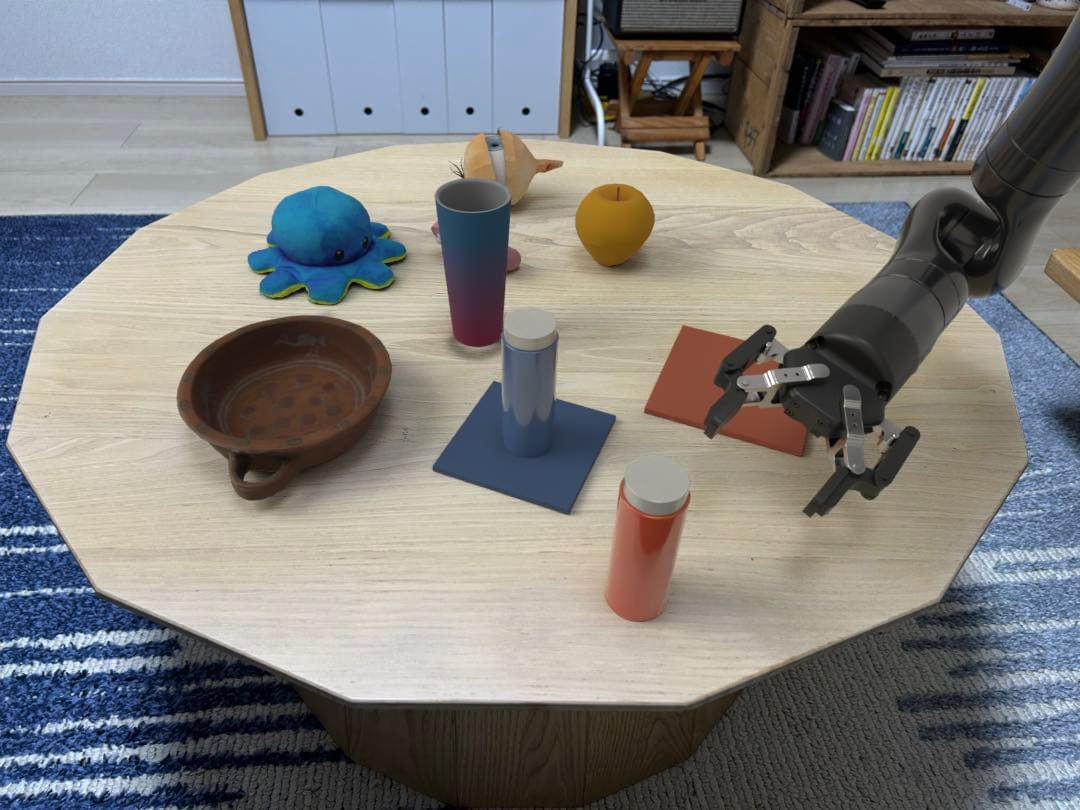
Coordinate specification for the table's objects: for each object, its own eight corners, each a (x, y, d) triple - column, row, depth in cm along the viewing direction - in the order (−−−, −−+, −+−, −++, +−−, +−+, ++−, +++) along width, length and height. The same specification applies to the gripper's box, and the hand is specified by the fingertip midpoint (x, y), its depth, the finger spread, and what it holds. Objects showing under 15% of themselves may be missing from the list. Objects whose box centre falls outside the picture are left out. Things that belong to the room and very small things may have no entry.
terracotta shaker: (673, 581, 56) (701, 464, 48) (657, 630, 53) (683, 514, 44) (615, 561, 57) (633, 444, 49) (596, 608, 54) (611, 491, 46)
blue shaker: (561, 430, 66) (568, 313, 58) (542, 463, 63) (546, 345, 55) (514, 416, 68) (515, 300, 60) (493, 448, 64) (491, 331, 56)
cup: (457, 358, 74) (449, 218, 65) (435, 320, 79) (424, 184, 69) (521, 342, 77) (523, 204, 67) (496, 306, 81) (494, 172, 71)
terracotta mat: (820, 363, 75) (822, 359, 75) (800, 456, 66) (802, 451, 65) (681, 329, 79) (682, 324, 79) (643, 412, 69) (644, 407, 69)
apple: (653, 282, 86) (663, 208, 80) (573, 279, 86) (577, 206, 80) (646, 242, 92) (655, 171, 86) (572, 239, 92) (576, 168, 86)
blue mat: (615, 420, 68) (616, 415, 68) (568, 515, 60) (569, 510, 60) (493, 385, 72) (493, 380, 71) (432, 470, 63) (432, 465, 63)
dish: (408, 342, 76) (404, 299, 73) (381, 512, 60) (374, 467, 56) (230, 341, 76) (217, 299, 72) (153, 513, 59) (132, 468, 56)
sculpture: (431, 130, 96) (548, 97, 95) (452, 191, 103) (560, 161, 102) (439, 174, 90) (562, 139, 89) (460, 234, 97) (575, 203, 96)
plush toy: (286, 220, 94) (272, 154, 89) (421, 233, 92) (415, 167, 87) (224, 294, 82) (203, 223, 76) (378, 311, 80) (369, 240, 75)
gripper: (815, 259, 59) (692, 377, 52) (982, 369, 55) (872, 514, 48) (781, 320, 66) (666, 433, 58) (928, 423, 61) (823, 559, 54)
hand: (759, 469), depth 53 cm, fingers open, 8 cm apart
